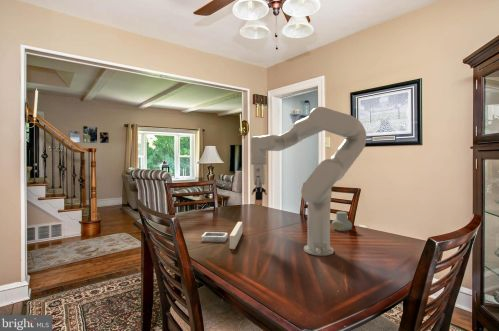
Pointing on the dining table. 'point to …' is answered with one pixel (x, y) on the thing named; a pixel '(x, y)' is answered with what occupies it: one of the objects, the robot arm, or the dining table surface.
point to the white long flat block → (235, 235)
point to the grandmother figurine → (258, 202)
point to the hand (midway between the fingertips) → (259, 198)
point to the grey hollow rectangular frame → (214, 237)
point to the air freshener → (341, 222)
